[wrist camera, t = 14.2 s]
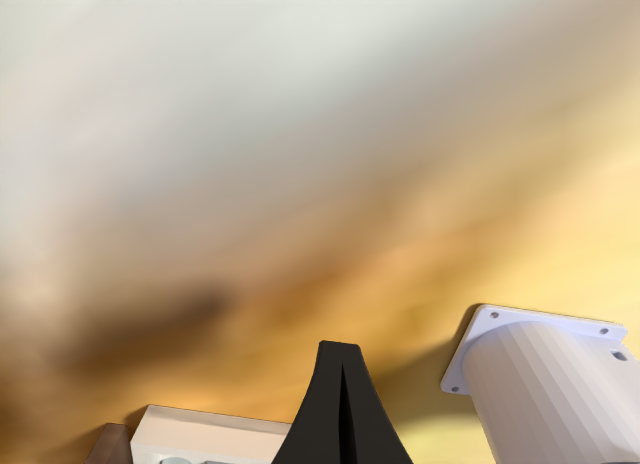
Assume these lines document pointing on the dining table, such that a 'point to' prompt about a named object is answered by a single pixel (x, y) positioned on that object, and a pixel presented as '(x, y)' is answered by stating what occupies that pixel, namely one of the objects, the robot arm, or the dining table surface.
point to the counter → (111, 447)
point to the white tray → (204, 438)
